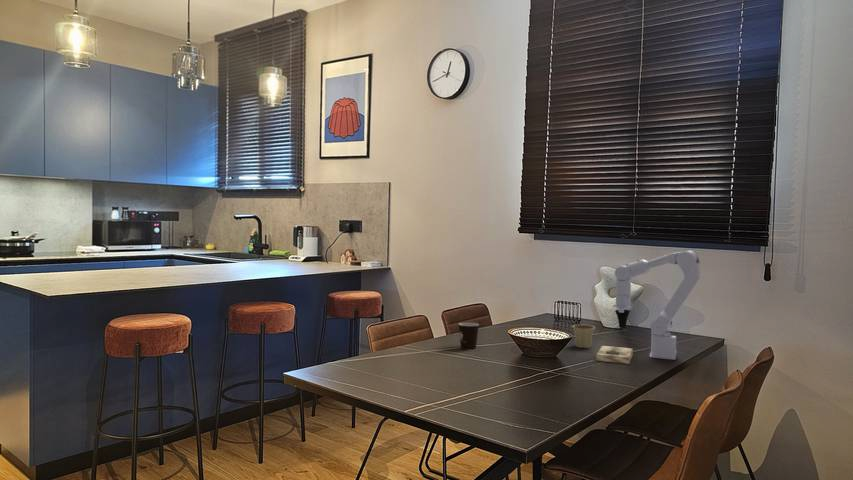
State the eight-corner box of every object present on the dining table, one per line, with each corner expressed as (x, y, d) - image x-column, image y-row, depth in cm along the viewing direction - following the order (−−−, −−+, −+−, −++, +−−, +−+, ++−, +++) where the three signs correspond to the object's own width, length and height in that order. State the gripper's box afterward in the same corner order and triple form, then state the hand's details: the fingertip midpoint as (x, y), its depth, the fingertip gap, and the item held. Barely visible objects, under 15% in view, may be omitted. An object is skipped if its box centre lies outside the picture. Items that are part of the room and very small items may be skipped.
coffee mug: (479, 350, 242) (479, 326, 242) (458, 350, 242) (458, 326, 242) (477, 344, 254) (477, 321, 254) (457, 344, 254) (457, 321, 254)
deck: (632, 354, 238) (632, 348, 238) (629, 363, 222) (629, 357, 222) (601, 351, 243) (602, 345, 243) (596, 360, 227) (596, 354, 227)
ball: (617, 360, 230) (618, 351, 231) (617, 359, 226) (618, 350, 227) (607, 359, 231) (609, 350, 232) (607, 357, 228) (609, 348, 229)
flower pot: (589, 350, 245) (590, 329, 245) (568, 347, 251) (568, 326, 250) (597, 346, 252) (598, 326, 252) (577, 343, 258) (577, 323, 258)
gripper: (615, 292, 251) (614, 323, 251) (611, 296, 237) (610, 329, 238) (632, 293, 248) (631, 325, 248) (629, 297, 235) (628, 331, 235)
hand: (622, 327), depth 243 cm, fingers closed
